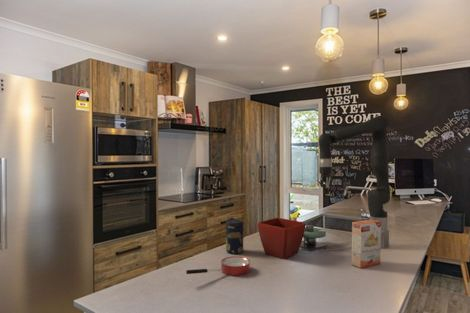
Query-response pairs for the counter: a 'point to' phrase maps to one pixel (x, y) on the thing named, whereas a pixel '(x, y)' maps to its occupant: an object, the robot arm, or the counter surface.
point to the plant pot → (281, 236)
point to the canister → (234, 236)
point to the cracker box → (366, 243)
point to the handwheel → (312, 231)
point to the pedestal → (311, 244)
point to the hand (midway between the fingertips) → (325, 194)
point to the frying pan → (228, 267)
